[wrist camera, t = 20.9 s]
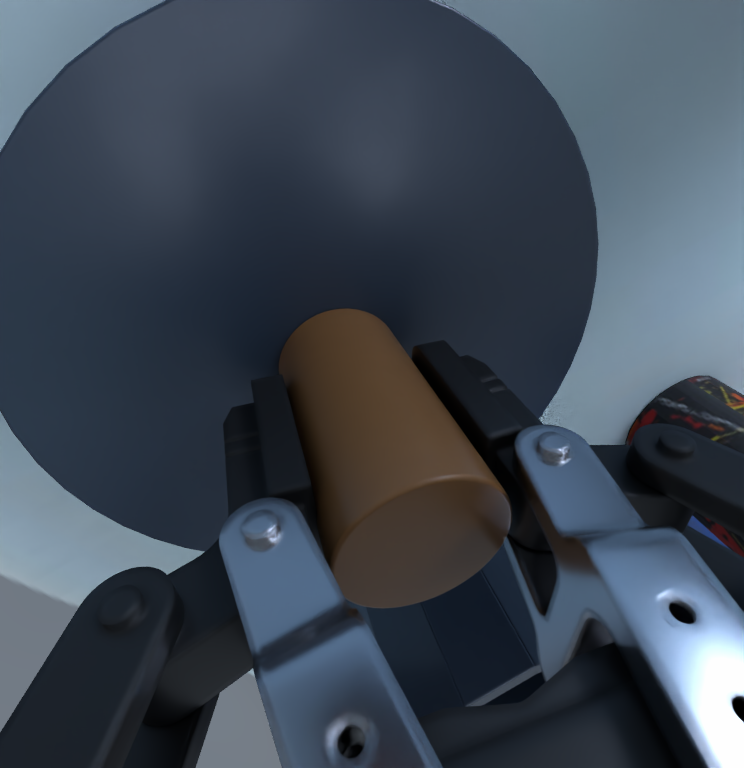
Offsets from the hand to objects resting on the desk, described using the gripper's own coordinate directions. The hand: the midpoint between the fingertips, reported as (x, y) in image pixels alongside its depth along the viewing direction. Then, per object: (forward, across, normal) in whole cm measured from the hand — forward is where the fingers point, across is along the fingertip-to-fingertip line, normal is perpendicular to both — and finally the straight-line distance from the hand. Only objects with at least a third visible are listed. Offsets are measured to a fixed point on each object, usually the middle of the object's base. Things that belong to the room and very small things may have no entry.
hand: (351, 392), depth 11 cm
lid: (+2, 0, 0) cm, 2 cm away
